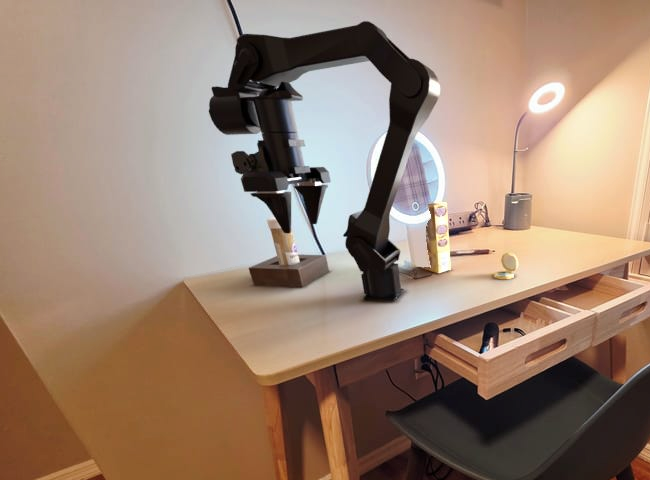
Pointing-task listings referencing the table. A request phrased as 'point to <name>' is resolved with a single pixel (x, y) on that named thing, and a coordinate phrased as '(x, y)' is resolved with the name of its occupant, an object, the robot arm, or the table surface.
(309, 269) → the holder
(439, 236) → the candy box
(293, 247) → the sprinkles bottle
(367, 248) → the robot arm
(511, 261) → the eyeshadow
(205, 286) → the table surface
